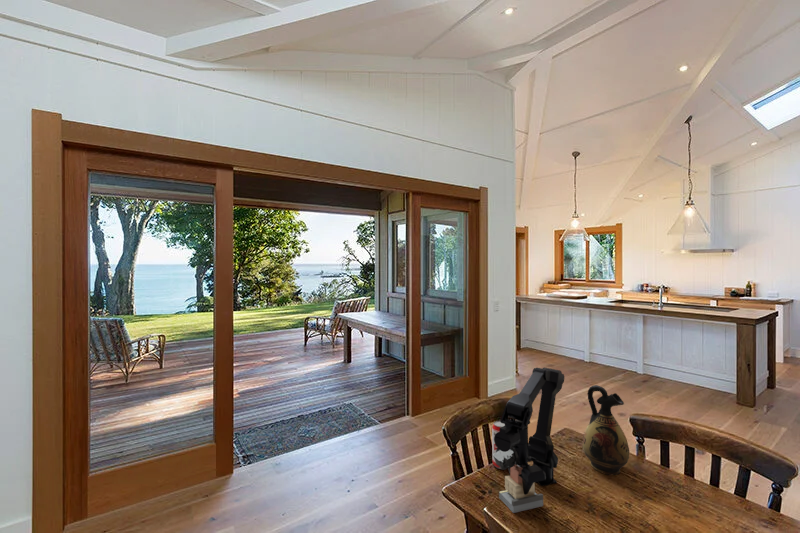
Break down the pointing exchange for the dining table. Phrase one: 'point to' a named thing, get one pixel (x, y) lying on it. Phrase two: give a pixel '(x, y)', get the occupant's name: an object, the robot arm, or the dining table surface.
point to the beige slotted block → (517, 488)
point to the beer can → (495, 429)
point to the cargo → (516, 474)
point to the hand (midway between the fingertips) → (519, 488)
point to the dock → (521, 501)
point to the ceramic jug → (605, 435)
